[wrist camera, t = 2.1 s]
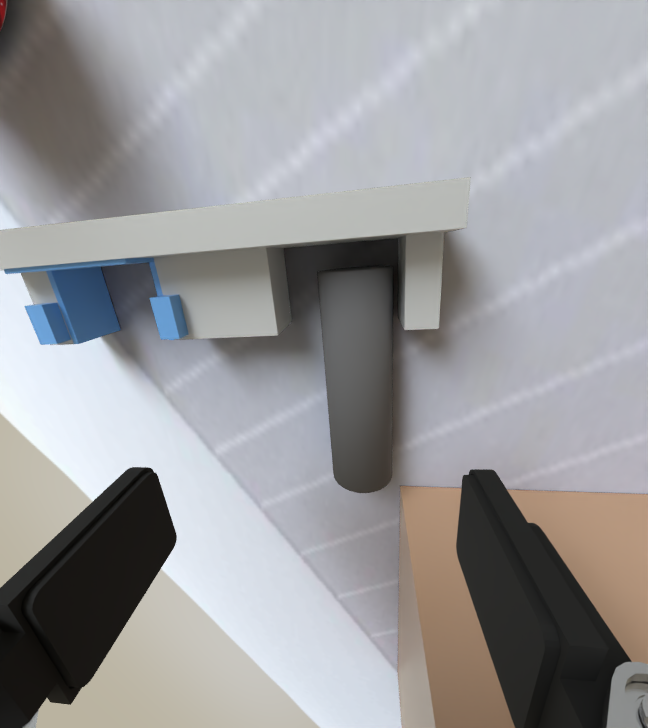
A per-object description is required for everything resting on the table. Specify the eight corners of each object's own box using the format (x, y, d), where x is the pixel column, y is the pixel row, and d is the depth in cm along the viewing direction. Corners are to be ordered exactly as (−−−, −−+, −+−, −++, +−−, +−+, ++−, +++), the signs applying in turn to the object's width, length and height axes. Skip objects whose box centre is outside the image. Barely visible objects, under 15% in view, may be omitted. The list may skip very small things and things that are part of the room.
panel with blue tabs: (436, 200, 14) (470, 177, 10) (430, 314, 16) (457, 340, 12) (60, 239, 17) (-52, 235, 13) (92, 331, 19) (6, 357, 15)
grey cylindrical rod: (308, 271, 15) (332, 273, 12) (370, 265, 16) (408, 265, 13) (325, 461, 20) (347, 500, 16) (374, 447, 21) (404, 481, 17)
